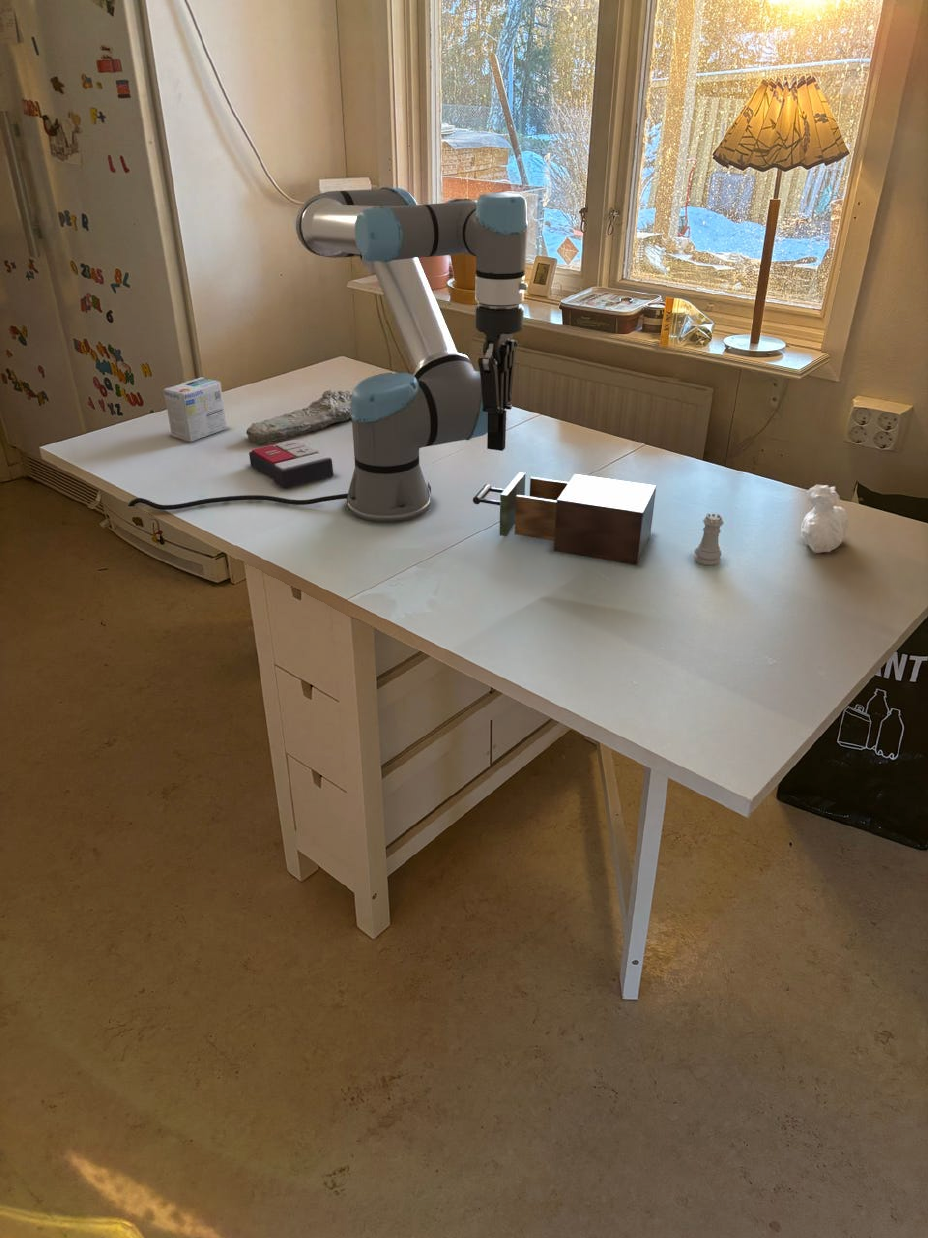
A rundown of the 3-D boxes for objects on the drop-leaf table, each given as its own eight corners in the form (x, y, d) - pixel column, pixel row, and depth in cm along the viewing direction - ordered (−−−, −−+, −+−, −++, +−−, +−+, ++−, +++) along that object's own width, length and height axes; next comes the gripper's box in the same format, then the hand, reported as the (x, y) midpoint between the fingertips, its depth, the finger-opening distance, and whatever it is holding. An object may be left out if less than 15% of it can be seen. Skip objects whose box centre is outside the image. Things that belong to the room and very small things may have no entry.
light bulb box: (208, 423, 205) (201, 375, 200) (228, 429, 202) (221, 381, 196) (170, 436, 198) (161, 387, 192) (190, 443, 194) (182, 393, 189)
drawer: (468, 530, 157) (468, 489, 153) (487, 506, 165) (488, 467, 161) (573, 547, 151) (576, 506, 147) (588, 522, 159) (591, 482, 155)
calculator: (296, 437, 187) (332, 455, 177) (299, 456, 189) (334, 476, 179) (247, 448, 182) (281, 467, 171) (250, 469, 184) (284, 489, 173)
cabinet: (553, 551, 152) (556, 499, 147) (571, 523, 161) (574, 473, 156) (637, 565, 148) (643, 512, 143) (650, 535, 157) (656, 485, 152)
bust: (832, 543, 159) (806, 485, 159) (871, 531, 153) (844, 470, 153) (797, 566, 152) (770, 505, 152) (837, 553, 146) (809, 490, 146)
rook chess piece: (690, 563, 148) (697, 519, 144) (695, 552, 152) (702, 508, 148) (718, 568, 147) (726, 524, 143) (722, 556, 150) (730, 513, 146)
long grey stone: (237, 443, 198) (264, 457, 192) (233, 420, 195) (261, 434, 189) (358, 398, 218) (386, 410, 213) (357, 377, 215) (385, 388, 210)
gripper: (509, 315, 134) (505, 465, 147) (535, 297, 145) (528, 438, 157) (462, 310, 136) (461, 458, 149) (490, 293, 147) (488, 432, 159)
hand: (496, 448), depth 153 cm, fingers closed
